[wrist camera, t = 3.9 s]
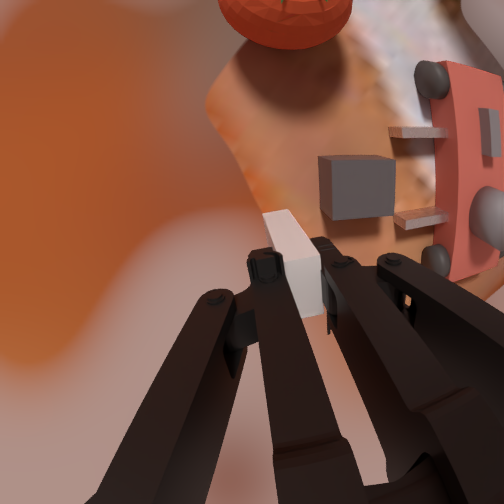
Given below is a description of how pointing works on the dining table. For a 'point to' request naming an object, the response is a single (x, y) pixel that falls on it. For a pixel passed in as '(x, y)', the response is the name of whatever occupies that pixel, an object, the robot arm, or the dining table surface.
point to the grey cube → (356, 186)
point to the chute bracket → (425, 214)
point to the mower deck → (466, 167)
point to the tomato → (287, 20)
